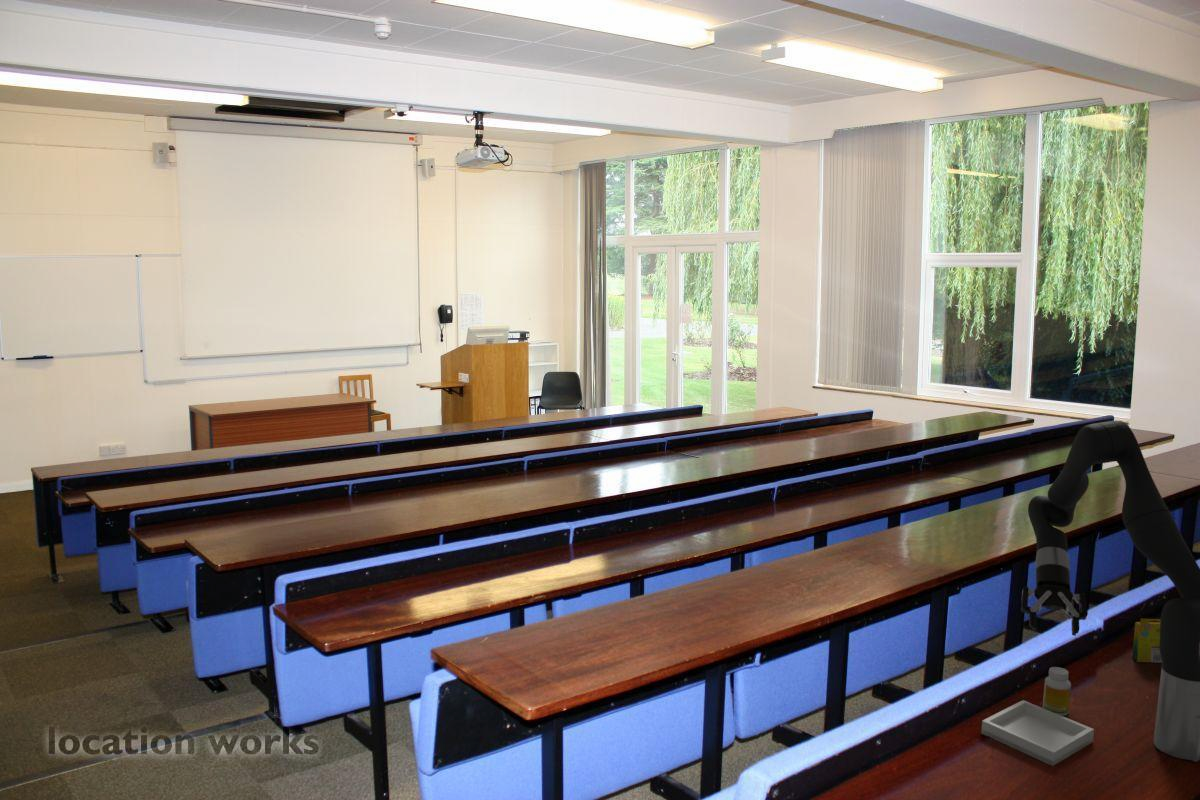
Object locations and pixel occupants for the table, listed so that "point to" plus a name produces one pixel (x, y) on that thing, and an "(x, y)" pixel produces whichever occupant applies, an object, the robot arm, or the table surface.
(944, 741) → the table surface
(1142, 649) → the crayon box
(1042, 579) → the robot arm
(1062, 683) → the supplement bottle
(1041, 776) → the table surface
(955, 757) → the table surface
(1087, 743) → the tray
